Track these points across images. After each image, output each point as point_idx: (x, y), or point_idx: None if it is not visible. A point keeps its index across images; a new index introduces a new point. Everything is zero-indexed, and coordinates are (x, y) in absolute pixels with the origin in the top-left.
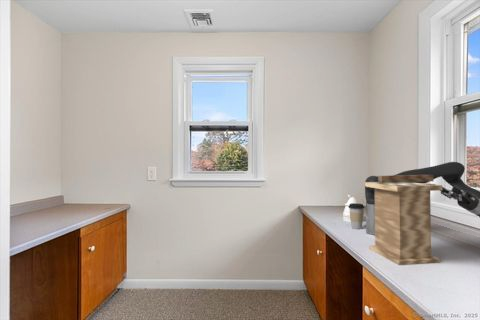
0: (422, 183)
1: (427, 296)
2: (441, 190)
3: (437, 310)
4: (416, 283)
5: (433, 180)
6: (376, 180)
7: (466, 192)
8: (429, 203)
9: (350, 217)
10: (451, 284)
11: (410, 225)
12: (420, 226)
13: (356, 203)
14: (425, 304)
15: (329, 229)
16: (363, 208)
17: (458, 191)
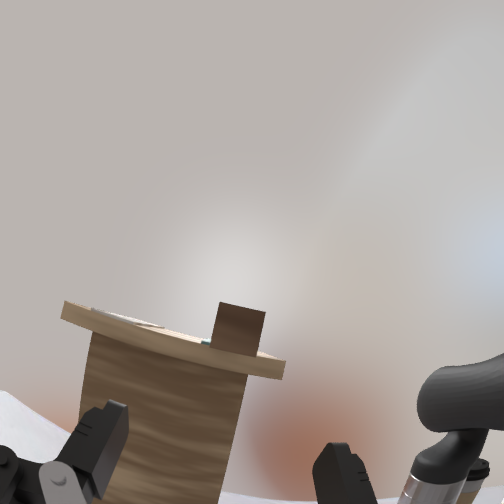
0: (132, 320)
1: (17, 410)
2: (320, 498)
3: (4, 393)
4: (39, 431)
5: (211, 341)
6: (429, 381)
7: (2, 451)
8: (85, 374)
9: None
10: (3, 437)
11: None
12: None
13: (485, 461)
14: (14, 399)
15: (397, 497)
16: (470, 481)
17: (75, 447)
